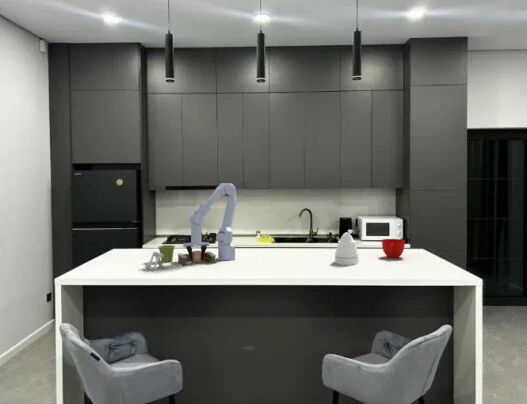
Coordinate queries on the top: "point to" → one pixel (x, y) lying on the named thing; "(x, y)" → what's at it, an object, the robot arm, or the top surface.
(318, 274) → the top surface
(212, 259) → the green brown u-shaped frame
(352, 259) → the honey pot
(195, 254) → the seedling pot
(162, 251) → the plant pot
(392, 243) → the ceramic cup
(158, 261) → the portable electronic device stand
